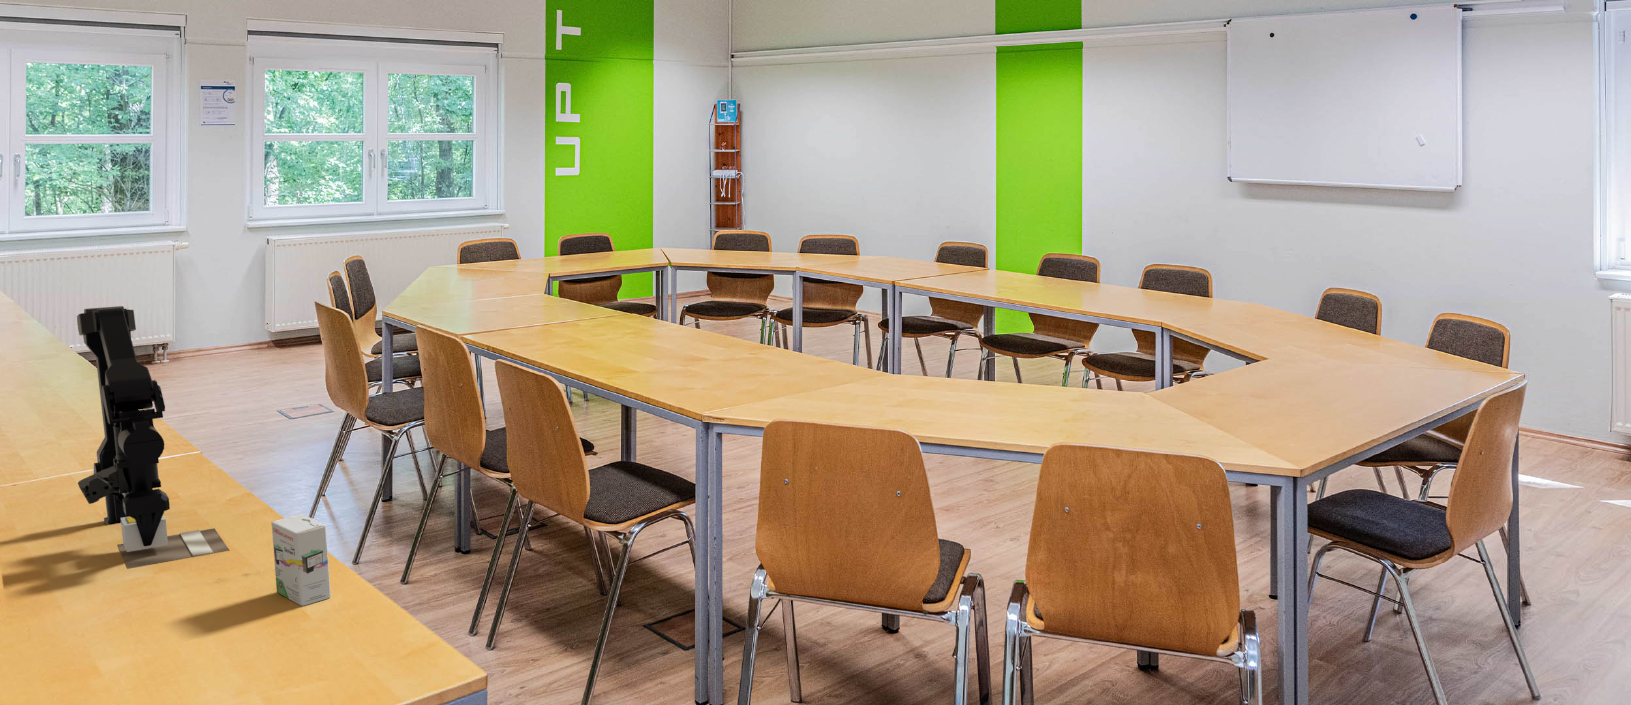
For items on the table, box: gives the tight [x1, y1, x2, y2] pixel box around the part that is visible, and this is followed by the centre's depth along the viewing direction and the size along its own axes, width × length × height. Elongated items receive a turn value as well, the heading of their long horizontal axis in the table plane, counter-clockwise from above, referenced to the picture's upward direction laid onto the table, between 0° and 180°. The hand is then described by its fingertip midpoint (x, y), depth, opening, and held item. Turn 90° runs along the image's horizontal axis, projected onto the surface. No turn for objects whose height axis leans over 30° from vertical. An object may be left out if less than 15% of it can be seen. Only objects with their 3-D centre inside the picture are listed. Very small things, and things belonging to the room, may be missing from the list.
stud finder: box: [120, 515, 168, 552], centre depth 199 cm, size 5×6×5 cm
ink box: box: [271, 513, 332, 607], centre depth 183 cm, size 8×5×12 cm, turn 49°
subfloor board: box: [117, 527, 230, 570], centre depth 202 cm, size 14×15×1 cm
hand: (145, 541), depth 199 cm, fingers closed on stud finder, 5 cm apart
